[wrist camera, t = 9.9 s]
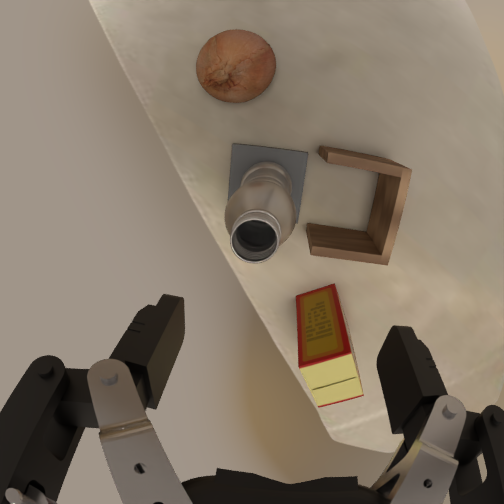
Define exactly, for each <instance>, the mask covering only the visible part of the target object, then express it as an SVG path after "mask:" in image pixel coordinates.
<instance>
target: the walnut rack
mask: <svg viewBox="0 0 504 504" xmlns="http://www.w3.org/2000/svg"><path fill="white" fill-rule="evenodd" d="M319 155H320V156H321V157H322V158H323V159H324V160H325V161H326V162H327V163H331V164H337V165H343V166H348V167H353V168H359V169H364V170H369V171H374V172H378V173H379V178H378V183H377V188H376V193H375V198H374V202H373V207H372V211H371V216H370V220H369V224H368V228H367V232H364V231H357V230H351V229H345V228H338V227H331V226H325V225H318V224H311V223H308V224H307V230H306V232H307V237H308V243H309V249H310V254H311V255H315V256H322V257H330V258H337V259H345V260H352V261H359V262H367V263H374V264H382V265H388V262H389V259H390V256H391V252H392V249H393V246H394V242H395V239H396V235H397V231H398V228H399V224H400V220H401V216H402V212H403V208H404V204H405V200H406V196H407V191H408V187H409V182H410V177H411V173H412V170H411V169H409V168H407V167H405V166H403V165H401V164H399V163H396V162H394V161H392V160H390V159H386V158H381V157H377V156H372V155H368V154H363V153H358V152H353V151H348V150H342V149H337V148H331V147H326V146H320V148H319Z"/></svg>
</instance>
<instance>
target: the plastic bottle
mask: <svg viewBox="0 0 504 504" xmlns="http://www.w3.org/2000/svg"><path fill="white" fill-rule="evenodd" d="M291 192H292V180H291V177H290V175H289V173H288V172H287V171H286V169H285V168H284V167H282V166H281V165H279V164H277V163H274V162H260V163H257V164H255V165H253V166H252V167H250V168H249V169H248V170H247V171H246V172H245V174H244V175H243V178H242V180H241V187H240V188H239V189H238V190H237V191H236V192H235V193H234V194H233V195H232V196H231V198H230V199H229V201H228V203H227V205H226V208H225V225H226V228H227V231H228V233H229V235H230V244H231V248H232V250H233V252H234V254H235V255H236V256H237V257H238V258H239V259H241V260H243V261H245V262H248V263H261V262H264V261H266V260H268V259H270V258H271V257H272V256H273V255H274V254H275V252H276V251H277V249H278V246H280V245H281V244H282V243H283V242H285V241H286V239H287V238H288V237H289V236H290V235H291V233H292V231H293V229H294V227H295V223H296V215H297V214H296V207H295V205H294V202H293V199H292V198H291V196H290V195H291Z"/></svg>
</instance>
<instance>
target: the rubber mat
mask: <svg viewBox="0 0 504 504" xmlns="http://www.w3.org/2000/svg"><path fill="white" fill-rule="evenodd" d="M307 158H308V152H302V151H295V150H287V149H280V148H272V147H263V146H254V145H245V144H234V143H233V145H232V156H231V168H230V180H229V192H228V201H229V199H230V198H231V196H232V195H233V194H234V193H235V192H236V191H237V190H238V189H239V188H240V187H241V180H242V178H243V175H244V174H245V172H246V171H247V170H248V169H249V168H250V167H252V166H253V165H255V164H257V163H260V162H274V163H277V164H279V165H281V166H282V167H284V168H285V169H286V171H287V172H288V173H289V175H290V177H291V180H292V192H291V195H290V196H291V198H292V199H293V202H294V205H295V207H296V214H297V215H296V223H297V224H298V218H299V211H300V205H301V199H302V192H303V186H304V179H305V172H306V165H307Z"/></svg>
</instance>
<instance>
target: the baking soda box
mask: <svg viewBox="0 0 504 504" xmlns="http://www.w3.org/2000/svg"><path fill="white" fill-rule="evenodd" d="M296 307H297V332H298V365H299V369H300V371H301V373H302V375H303V377H304V379H305V381H306V383H307V385H308V387H309V389H310V391H311V393H312V395H313V397H314V399H315V401H316V403H317V405H318V407H323V406H327V405H331V404H335V403H339V402H343V401H347V400H350V399H354V398H357V397H361V396H364V395H363V390H362V385H361V380H360V375H359V371H358V366H357V362H356V357H355V353H354V349H353V344H352V340H351V336H350V332H349V328H348V324H347V321H346V318H345V314H344V311H343V308H342V305H341V302H340V299H339V295H338V292H337V289H336V286H335V283H334V284H331V285H328V286H325V287H322V288H319V289H316V290H313V291H310V292H307V293H304V294H301V295H297V296H296Z"/></svg>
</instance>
